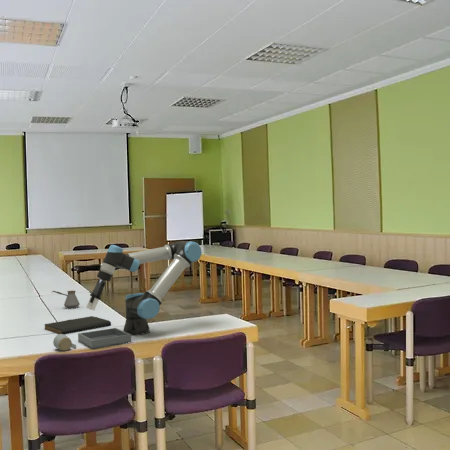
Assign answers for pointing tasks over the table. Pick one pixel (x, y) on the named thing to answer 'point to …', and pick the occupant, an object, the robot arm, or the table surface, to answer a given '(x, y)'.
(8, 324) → the table surface
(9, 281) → the table surface
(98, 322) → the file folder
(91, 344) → the bin
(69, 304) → the coffee pot
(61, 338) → the ceramic mug
